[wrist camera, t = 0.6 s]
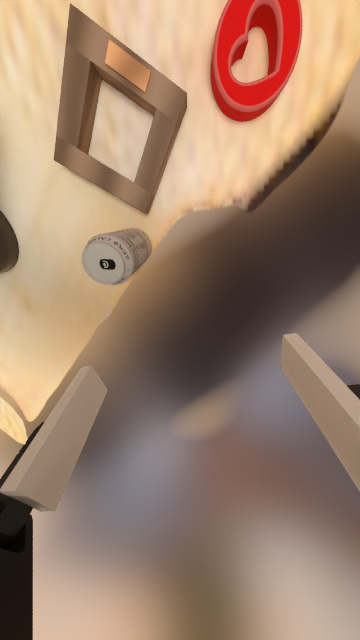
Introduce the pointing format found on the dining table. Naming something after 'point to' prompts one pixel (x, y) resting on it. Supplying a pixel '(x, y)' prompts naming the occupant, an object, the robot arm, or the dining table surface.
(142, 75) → the frame
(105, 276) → the energy drink can
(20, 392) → the dining table surface
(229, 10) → the decorative ornament
